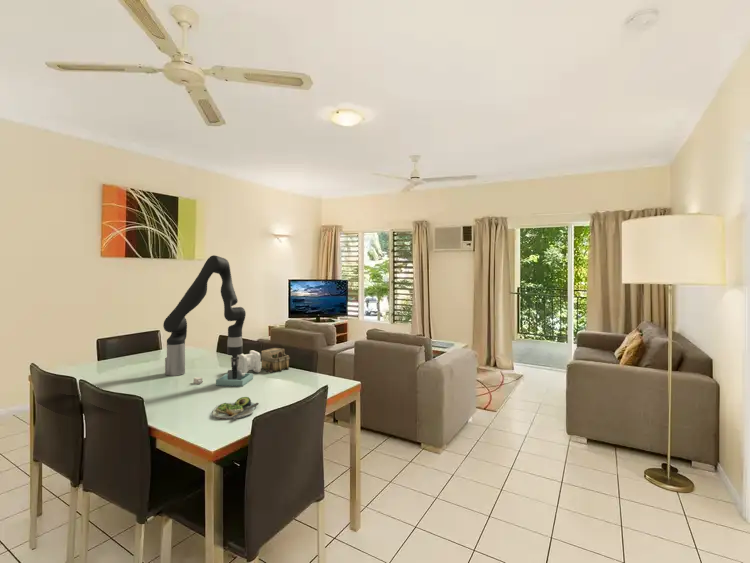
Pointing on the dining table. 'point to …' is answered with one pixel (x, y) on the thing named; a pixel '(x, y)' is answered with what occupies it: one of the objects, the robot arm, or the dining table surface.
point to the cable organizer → (250, 362)
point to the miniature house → (274, 360)
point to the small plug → (198, 380)
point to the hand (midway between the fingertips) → (234, 377)
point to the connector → (239, 375)
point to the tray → (225, 382)
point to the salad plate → (235, 409)
